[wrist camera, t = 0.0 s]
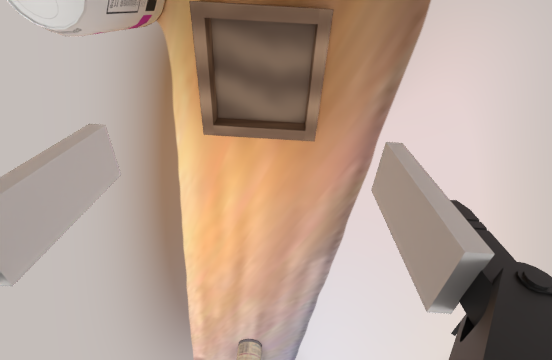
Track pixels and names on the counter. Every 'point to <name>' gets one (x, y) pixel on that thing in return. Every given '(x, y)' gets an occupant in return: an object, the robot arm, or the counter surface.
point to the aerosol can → (249, 350)
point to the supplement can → (88, 14)
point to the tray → (260, 68)
